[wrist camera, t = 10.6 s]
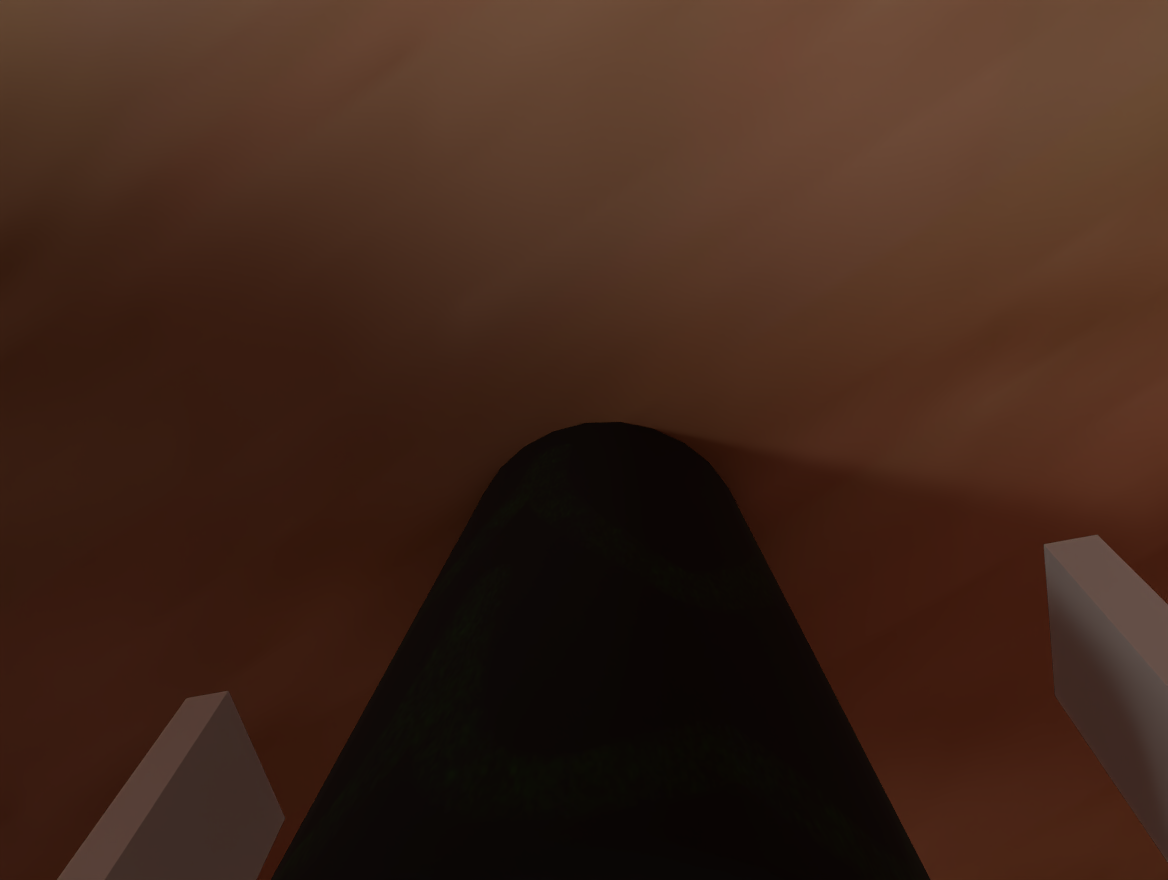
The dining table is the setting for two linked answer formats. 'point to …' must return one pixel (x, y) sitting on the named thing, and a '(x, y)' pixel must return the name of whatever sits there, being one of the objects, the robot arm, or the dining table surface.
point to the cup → (603, 699)
